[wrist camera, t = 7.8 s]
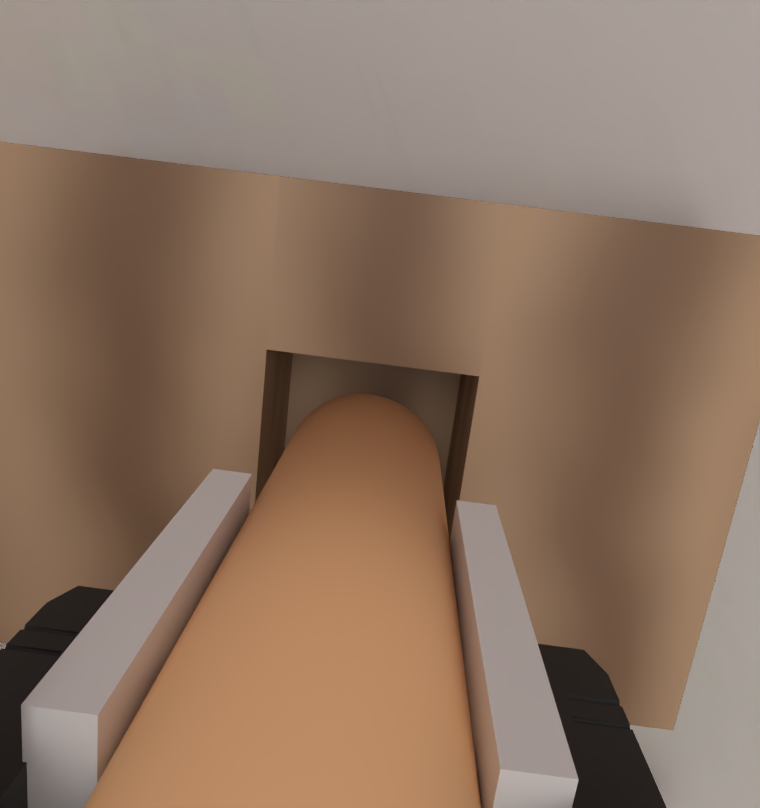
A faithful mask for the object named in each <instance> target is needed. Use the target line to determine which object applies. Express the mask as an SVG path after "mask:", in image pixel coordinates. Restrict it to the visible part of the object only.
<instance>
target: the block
mask: <svg viewBox="0 0 760 808" xmlns="http://www.w3.org/2000/svg"><path fill="white" fill-rule="evenodd" d="M353 394H370V395H376V396H382V397H385V398H388V399H391V400H393V401H395V402H398V403H400V404H402V405H403V406H405V407H406V408H408V409H409V410H411V411H412V412H413V413H414V414H415V415H417V416H418V417H419V418H420V420H421V421H422V422H423V423H424V424H425V425H426V427H427V428H428V430H429V431H430V433H431V435H432V437H433V439H434V441H435V444H436V447H437V450H438V454H439V459H440V468H441V476H442V484H443V492H444V501H445V509H446V517H447V526H448V534H449V542H450V538H451V532H452V525H453V519H454V513H455V507H456V501H457V500H459V501H467V502H474V503H482V504H490V505H496V507H497V510H498V514H499V517H500V520H501V524H502V527H503V530H504V533H505V537H506V540H507V543H508V547H509V550H510V553H511V557H512V560H513V563H514V567H515V570H516V573H517V577H518V580H519V583H520V587H521V590H522V593H523V597H524V600H525V603H526V607H527V610H528V613H529V616H530V620H531V623H532V626H533V630H534V633H535V636H536V640H537V643H538V644H544V645H552V646H559V647H567V648H575V649H582V650H585V651H586V652H587V653H588V654H589V655H590V656H591V657H592V658H593V659H594V660H595V661H596V662H597V663H598V664H599V665H600V667H601V668H602V669H603V670H604V671H605V672H606V673H607V674H608V675H609V678H610V680H611V682H612V684H613V687H614V689H615V691H616V694H617V696H618V698H619V700H620V706H622V707H623V710H624V712H625V714H626V716H627V719H628V721H629V723H630V725H637V726H645V727H652V728H660V729H667V730H673V729H674V725H675V722H676V718H677V715H678V711H679V708H680V704H681V700H682V697H683V693H684V690H685V686H686V682H687V679H688V675H689V672H690V668H691V665H692V661H693V657H694V654H695V650H696V647H697V643H698V640H699V636H700V632H701V629H702V625H703V622H704V618H705V615H706V611H707V607H708V604H709V600H710V597H711V593H712V589H713V586H714V582H715V579H716V575H717V572H718V568H719V564H720V561H721V557H722V554H723V550H724V547H725V543H726V539H727V536H728V532H729V529H730V525H731V521H732V518H733V514H734V511H735V507H736V504H737V500H738V496H739V493H740V489H741V486H742V482H743V479H744V475H745V471H746V468H747V464H748V461H749V457H750V453H751V450H752V446H753V443H754V439H755V436H756V432H757V428H758V425H759V421H760V236H759V235H751V234H743V233H735V232H727V231H719V230H711V229H703V228H694V227H686V226H678V225H670V224H662V223H654V222H646V221H638V220H630V219H622V218H614V217H605V216H597V215H589V214H581V213H573V212H565V211H557V210H549V209H541V208H533V207H524V206H516V205H508V204H500V203H492V202H484V201H476V200H468V199H460V198H452V197H444V196H435V195H427V194H419V193H411V192H403V191H395V190H387V189H379V188H371V187H363V186H355V185H346V184H338V183H330V182H322V181H314V180H306V179H298V178H290V177H282V176H274V175H265V174H257V173H249V172H241V171H233V170H225V169H217V168H209V167H201V166H193V165H185V164H176V163H168V162H160V161H152V160H144V159H136V158H128V157H120V156H112V155H104V154H95V153H87V152H79V151H71V150H63V149H55V148H47V147H39V146H31V145H23V144H15V143H6V142H0V642H3V643H8V642H9V641H10V640H11V639H12V638H13V637H14V636H15V635H16V634H17V633H18V632H19V631H20V629H21V630H24V627H25V624H26V623H27V622H28V621H29V620H30V619H31V618H32V617H33V616H34V615H35V614H36V613H37V612H38V611H39V610H40V609H41V608H42V607H43V606H44V605H45V604H46V603H47V602H49V601H50V600H52V599H54V598H56V597H58V596H60V595H62V594H64V593H65V592H67V591H69V590H71V589H73V588H75V587H77V586H85V587H92V588H100V589H108V590H115V589H116V588H117V586H118V585H119V584H120V583H121V581H122V580H123V579H124V578H125V576H126V575H127V574H128V573H129V572H130V570H131V569H132V568H133V567H134V565H135V564H136V563H137V562H138V560H139V559H140V558H141V557H142V556H143V554H144V553H145V552H146V551H147V549H148V548H149V547H150V546H151V545H152V543H153V542H154V541H155V540H156V538H157V537H158V536H159V535H160V533H161V532H162V531H163V530H164V529H165V527H166V526H167V525H168V524H169V522H170V521H171V520H172V519H173V517H174V516H175V515H176V514H177V513H178V511H179V510H180V509H181V508H182V506H183V505H184V504H185V503H186V501H187V500H188V499H189V498H190V497H191V495H192V494H193V493H194V492H195V490H196V489H197V488H198V487H199V485H200V484H201V483H202V482H203V481H204V479H205V478H206V477H207V476H208V474H209V473H210V472H211V471H212V470H213V469H219V470H226V471H234V472H242V473H250V474H252V483H251V496H250V510H249V513H250V511H251V509H252V508H253V506H254V504H255V502H256V500H257V499H258V497H259V495H260V493H261V492H262V490H263V488H264V486H265V484H266V483H267V481H268V479H269V477H270V476H271V474H272V472H273V470H274V468H275V467H276V465H277V463H278V461H279V460H280V458H281V456H282V454H283V452H284V451H285V449H286V447H287V445H288V444H289V442H290V440H291V438H292V436H293V435H294V433H295V431H296V430H297V428H298V427H299V425H300V423H301V422H302V421H303V420H304V419H305V418H306V417H307V416H308V415H309V414H310V413H311V412H312V411H313V410H315V409H316V408H318V407H319V406H321V405H322V404H324V403H326V402H328V401H330V400H332V399H335V398H338V397H342V396H347V395H353Z"/></svg>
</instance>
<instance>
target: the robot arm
mask: <svg viewBox="0 0 760 808" xmlns="http://www.w3.org/2000/svg"><path fill="white" fill-rule="evenodd" d="M251 483H252V474H250V473H242V472H234V471H226V470H219V469H213V470H212V471H211V472H210V473H209V474H208V476H207V477H206V478H205V479H204V481H203V482H202V483H201V484H200V485H199V487H198V488H197V489H196V490H195V492H194V493H193V494H192V495H191V497H190V498H189V499H188V500H187V501H186V503H185V504H184V505H183V506H182V508H181V509H180V510H179V511H178V513H177V514H176V515H175V516H174V517H173V519H172V520H171V521H170V522H169V524H168V525H167V526H166V527H165V529H164V530H163V531H162V532H161V533H160V535H159V536H158V537H157V538H156V540H155V541H154V542H153V543H152V545H151V546H150V547H149V548H148V549H147V551H146V552H145V553H144V554H143V556H142V557H141V558H140V559H139V560H138V562H137V563H136V564H135V565H134V567H133V568H132V569H131V570H130V572H129V573H128V574H127V575H126V576H125V578H124V579H123V580H122V581H121V583H120V584H119V585H118V586H117V588H116V589H115V590H108V589H100V588H92V587H85V586H77V587H75V588H73V589H71V590H69V591H67V592H65V593H64V594H62V595H60V596H58V597H56V598H54V599H52V600H50V601H49V602H47V603H46V604H45V605H44V606H43V607H42V608H41V609H40V610H39V611H38V612H37V613H36V614H35V615H34V616H33V617H32V618H31V619H30V620H29V621H28V622H27V623H26V624H25V627H24V630H21V629H20V631H19V632H18V633H17V634H16V635H15V636H14V637H13V638H12V639H11V640H10V641H9V642H8V643H7V644H6V648H5V649H1V650H0V808H84V806H85V804H86V803H87V801H88V799H89V797H90V795H91V794H92V792H93V790H94V788H95V787H96V785H97V783H98V781H99V779H100V778H101V776H102V774H103V772H104V771H105V769H106V767H107V765H108V763H109V762H110V760H111V758H112V756H113V755H114V753H115V751H116V749H117V747H118V746H119V744H120V742H121V740H122V739H123V737H124V735H125V733H126V731H127V730H128V728H129V726H130V724H131V723H132V721H133V719H134V717H135V715H136V714H137V712H138V710H139V708H140V707H141V705H142V703H143V701H144V699H145V698H146V696H147V694H148V692H149V691H150V689H151V687H152V685H153V683H154V682H155V680H156V678H157V676H158V675H159V673H160V671H161V669H162V667H163V666H164V664H165V662H166V660H167V659H168V657H169V655H170V653H171V651H172V650H173V648H174V646H175V644H176V643H177V641H178V639H179V637H180V635H181V634H182V632H183V630H184V628H185V627H186V625H187V623H188V621H189V619H190V618H191V616H192V614H193V612H194V611H195V609H196V607H197V605H198V603H199V602H200V600H201V598H202V596H203V595H204V593H205V591H206V589H207V587H208V586H209V584H210V582H211V580H212V579H213V577H214V575H215V573H216V571H217V570H218V568H219V566H220V564H221V563H222V561H223V559H224V557H225V556H226V554H227V552H228V550H229V548H230V547H231V545H232V543H233V541H234V540H235V538H236V536H237V534H238V532H239V531H240V529H241V527H242V525H243V524H244V522H245V520H246V518H247V516H248V515H249V510H250V496H251ZM450 551H451V559H452V567H453V576H454V584H455V592H456V601H457V609H458V617H459V626H460V634H461V642H462V651H463V659H464V667H465V675H466V684H467V692H468V700H469V709H470V717H471V725H472V734H473V742H474V750H475V759H476V767H477V775H478V784H479V792H480V800H481V808H666V806H665V803H664V801H663V799H662V797H661V794H660V792H659V790H658V787H657V785H656V783H655V781H654V778H653V776H652V774H651V771H650V769H649V767H648V765H647V762H646V760H645V758H644V755H643V753H642V751H641V749H640V746H639V744H638V742H637V739H636V737H635V735H634V733H633V730H630V723H629V721H628V719H627V716H626V714H625V712H624V710H623V707H622V706H620V700H619V698H618V696H617V694H616V691H615V689H614V687H613V684H612V682H611V680H610V678H609V675H608V674H607V673H606V672H605V671H604V670H603V669H602V668H601V667H600V665H599V664H598V663H597V662H596V661H595V660H594V659H593V658H592V657H591V656H590V655H589V654H588V653H587V652H586V651H585V650H582V649H575V648H567V647H559V646H552V645H544V644H538V643H537V640H536V636H535V633H534V630H533V626H532V623H531V620H530V616H529V613H528V610H527V607H526V603H525V600H524V597H523V593H522V590H521V587H520V583H519V580H518V577H517V573H516V570H515V567H514V563H513V560H512V557H511V553H510V550H509V547H508V543H507V540H506V537H505V533H504V530H503V527H502V524H501V520H500V517H499V514H498V510H497V507H496V505H490V504H482V503H474V502H467V501H459V500H457V501H456V507H455V513H454V519H453V525H452V532H451V538H450Z"/></svg>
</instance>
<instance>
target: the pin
mask: <svg viewBox="0 0 760 808" xmlns="http://www.w3.org/2000/svg"><path fill="white" fill-rule="evenodd" d="M84 808H481V800H480V792H479V784H478V775H477V767H476V759H475V750H474V742H473V734H472V725H471V717H470V709H469V700H468V692H467V684H466V675H465V667H464V659H463V651H462V642H461V634H460V626H459V617H458V609H457V601H456V592H455V584H454V576H453V567H452V559H451V551H450V542H449V534H448V526H447V517H446V509H445V501H444V492H443V484H442V476H441V468H440V459H439V454H438V450H437V447H436V444H435V441H434V439H433V437H432V435H431V433H430V431H429V430H428V428H427V427H426V425H425V424H424V423H423V422H422V421H421V420H420V418H419V417H418V416H417V415H415V414H414V413H413V412H412V411H411V410H409V409H408V408H406V407H405V406H403V405H402V404H400V403H398V402H395V401H393V400H391V399H388V398H385V397H382V396H376V395H370V394H353V395H347V396H342V397H338V398H335V399H332V400H330V401H328V402H326V403H324V404H322V405H321V406H319V407H318V408H316V409H315V410H313V411H312V412H311V413H310V414H309V415H308V416H307V417H306V418H305V419H304V420H303V421H302V422H301V423H300V425H299V427H298V428H297V430H296V431H295V433H294V435H293V436H292V438H291V440H290V442H289V444H288V445H287V447H286V449H285V451H284V452H283V454H282V456H281V458H280V460H279V461H278V463H277V465H276V467H275V468H274V470H273V472H272V474H271V476H270V477H269V479H268V481H267V483H266V484H265V486H264V488H263V490H262V492H261V493H260V495H259V497H258V499H257V500H256V502H255V504H254V506H253V508H252V509H251V511H250V513H249V515H248V516H247V518H246V520H245V522H244V524H243V525H242V527H241V529H240V531H239V532H238V534H237V536H236V538H235V540H234V541H233V543H232V545H231V547H230V548H229V550H228V552H227V554H226V556H225V557H224V559H223V561H222V563H221V564H220V566H219V568H218V570H217V571H216V573H215V575H214V577H213V579H212V580H211V582H210V584H209V586H208V587H207V589H206V591H205V593H204V595H203V596H202V598H201V600H200V602H199V603H198V605H197V607H196V609H195V611H194V612H193V614H192V616H191V618H190V619H189V621H188V623H187V625H186V627H185V628H184V630H183V632H182V634H181V635H180V637H179V639H178V641H177V643H176V644H175V646H174V648H173V650H172V651H171V653H170V655H169V657H168V659H167V660H166V662H165V664H164V666H163V667H162V669H161V671H160V673H159V675H158V676H157V678H156V680H155V682H154V683H153V685H152V687H151V689H150V691H149V692H148V694H147V696H146V698H145V699H144V701H143V703H142V705H141V707H140V708H139V710H138V712H137V714H136V715H135V717H134V719H133V721H132V723H131V724H130V726H129V728H128V730H127V731H126V733H125V735H124V737H123V739H122V740H121V742H120V744H119V746H118V747H117V749H116V751H115V753H114V755H113V756H112V758H111V760H110V762H109V763H108V765H107V767H106V769H105V771H104V772H103V774H102V776H101V778H100V779H99V781H98V783H97V785H96V787H95V788H94V790H93V792H92V794H91V795H90V797H89V799H88V801H87V803H86V804H85V806H84Z"/></svg>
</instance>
